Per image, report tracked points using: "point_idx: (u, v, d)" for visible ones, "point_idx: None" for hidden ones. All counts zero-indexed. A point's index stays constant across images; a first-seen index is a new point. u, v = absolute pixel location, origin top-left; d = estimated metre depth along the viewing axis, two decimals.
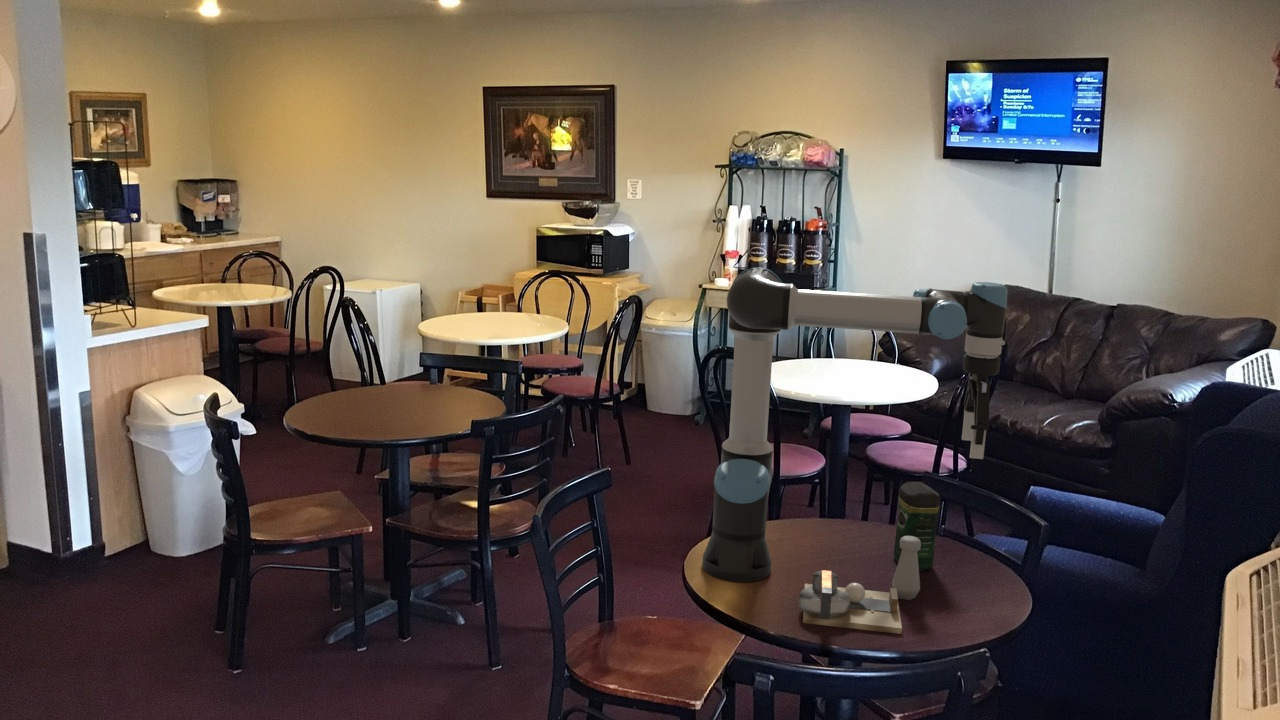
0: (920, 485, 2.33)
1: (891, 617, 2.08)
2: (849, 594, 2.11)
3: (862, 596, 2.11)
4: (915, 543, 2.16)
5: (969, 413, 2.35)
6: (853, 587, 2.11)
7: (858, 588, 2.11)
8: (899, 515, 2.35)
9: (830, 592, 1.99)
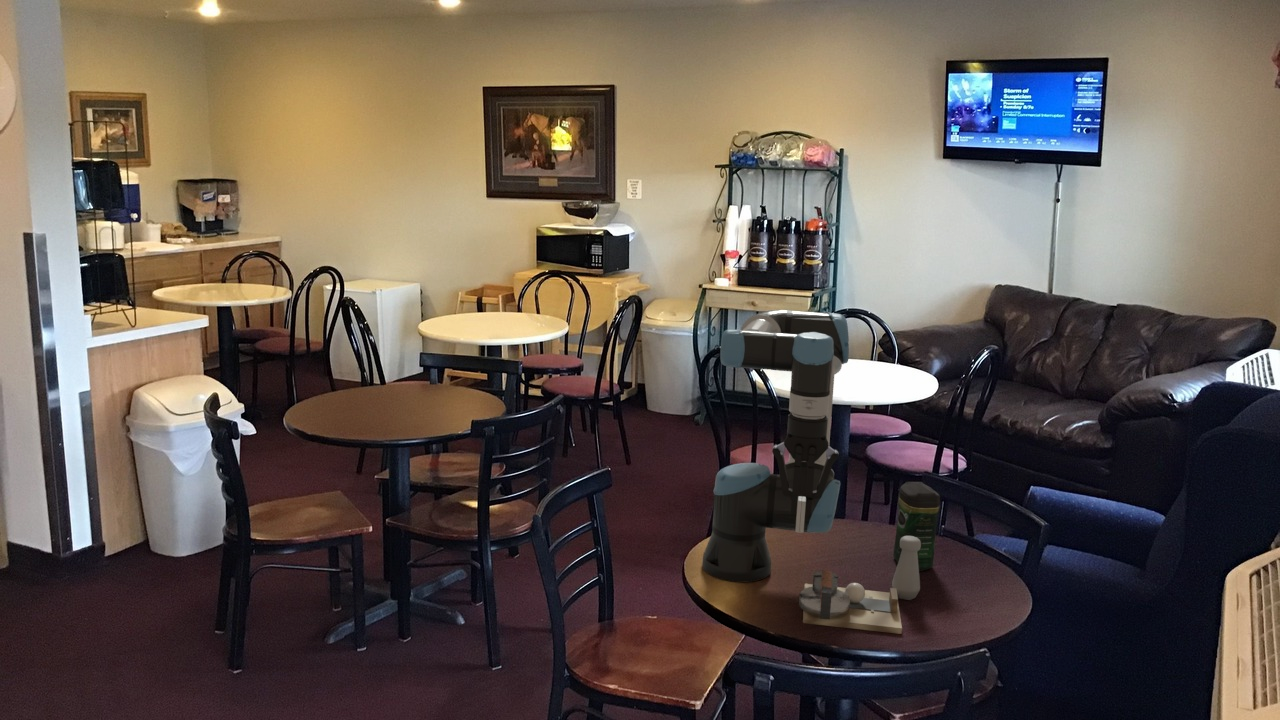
0: (920, 485, 2.33)
1: (891, 617, 2.08)
2: (849, 594, 2.11)
3: (862, 596, 2.11)
4: (915, 543, 2.16)
5: None
6: (853, 587, 2.11)
7: (858, 588, 2.11)
8: (899, 515, 2.35)
9: (830, 592, 1.99)
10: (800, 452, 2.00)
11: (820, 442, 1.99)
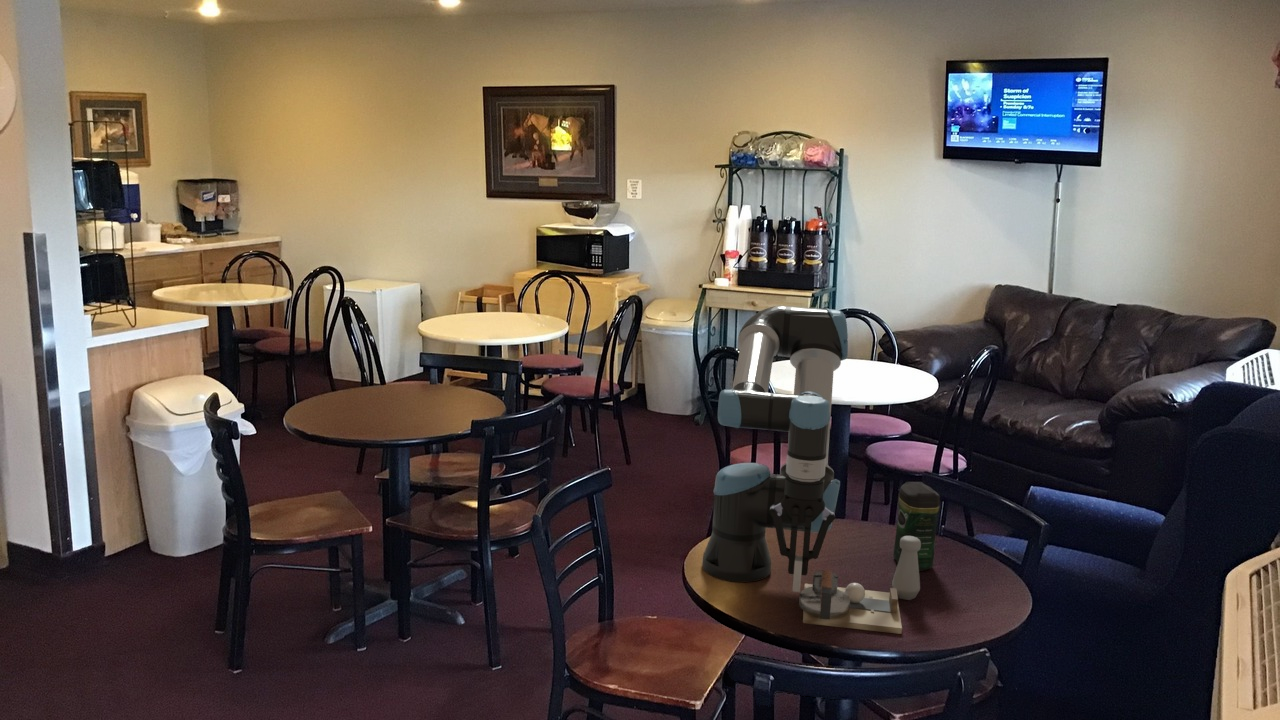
0: (920, 485, 2.33)
1: (891, 617, 2.08)
2: (849, 594, 2.11)
3: (862, 596, 2.11)
4: (915, 543, 2.16)
5: None
6: (853, 587, 2.11)
7: (858, 588, 2.11)
8: (899, 515, 2.35)
9: (830, 592, 1.99)
10: (797, 513, 2.02)
11: (817, 504, 2.02)
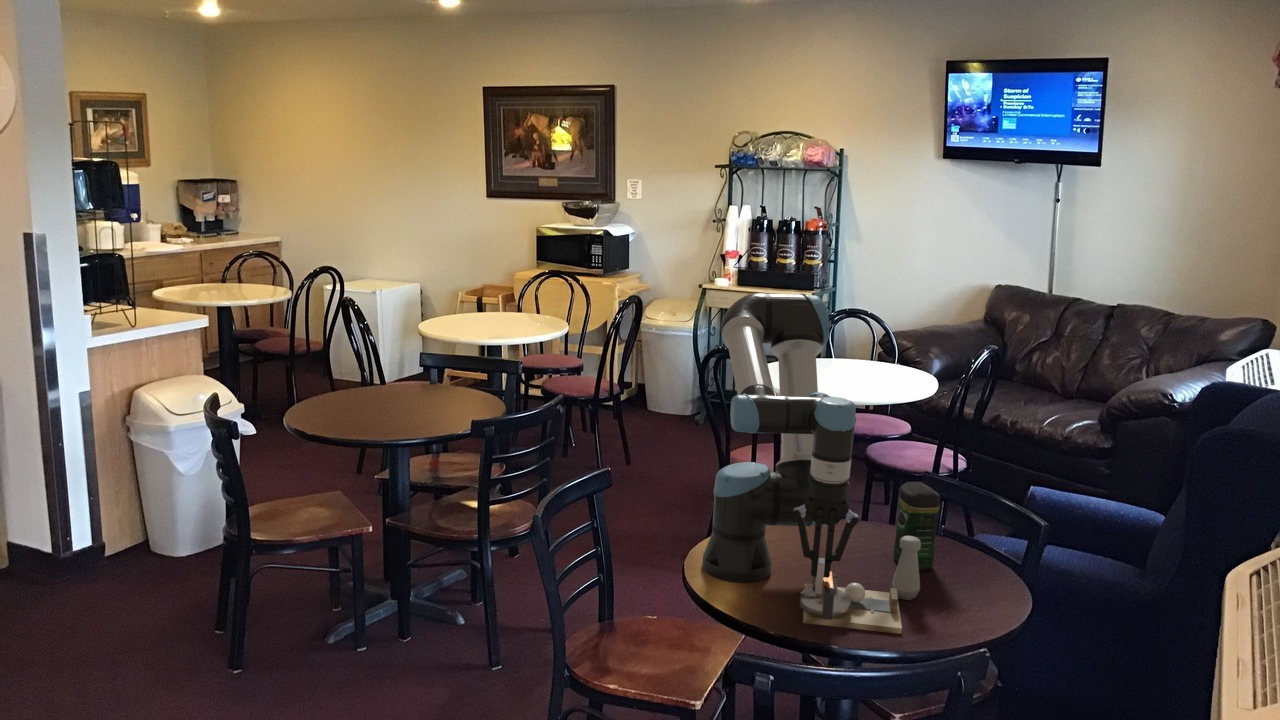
0: (920, 485, 2.33)
1: (891, 617, 2.08)
2: (849, 594, 2.11)
3: (862, 596, 2.11)
4: (915, 543, 2.16)
5: None
6: (853, 587, 2.11)
7: (858, 588, 2.11)
8: (899, 515, 2.35)
9: (832, 592, 1.99)
10: (821, 515, 2.01)
11: (841, 506, 2.01)
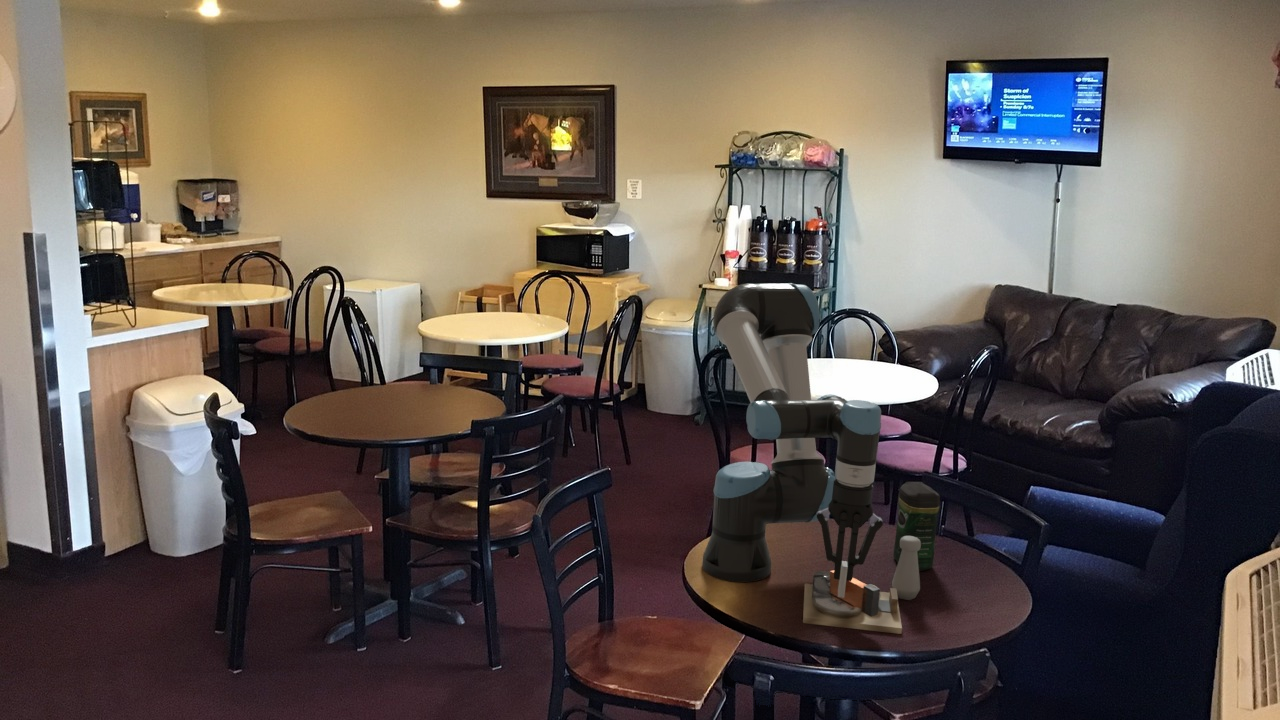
0: (920, 485, 2.33)
1: (891, 617, 2.08)
2: None
3: None
4: (915, 543, 2.16)
5: None
6: None
7: None
8: (899, 515, 2.35)
9: (877, 588, 2.02)
10: (845, 519, 2.01)
11: (865, 509, 2.01)
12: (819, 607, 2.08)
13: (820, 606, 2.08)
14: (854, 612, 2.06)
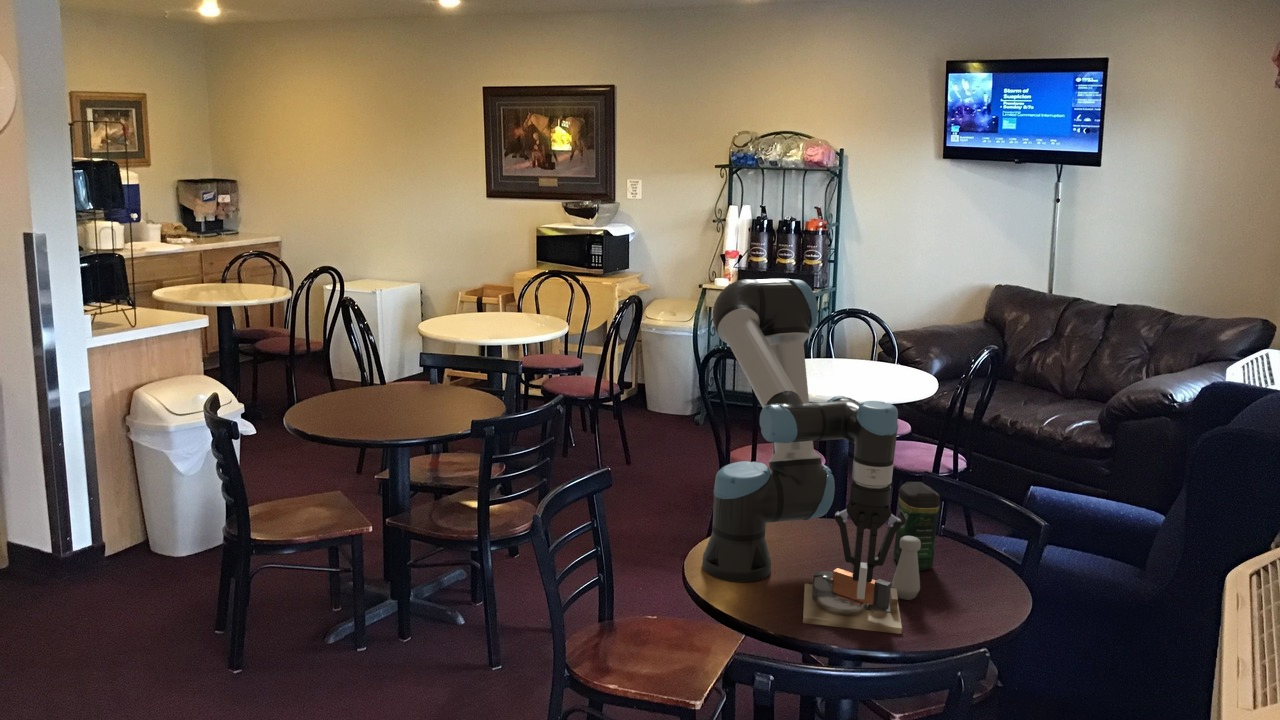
0: (920, 485, 2.33)
1: (891, 617, 2.08)
2: None
3: None
4: (915, 543, 2.16)
5: None
6: None
7: None
8: (899, 515, 2.35)
9: (888, 582, 2.05)
10: (863, 520, 2.00)
11: (883, 510, 2.00)
12: (829, 608, 2.08)
13: (830, 607, 2.07)
14: (863, 608, 2.08)
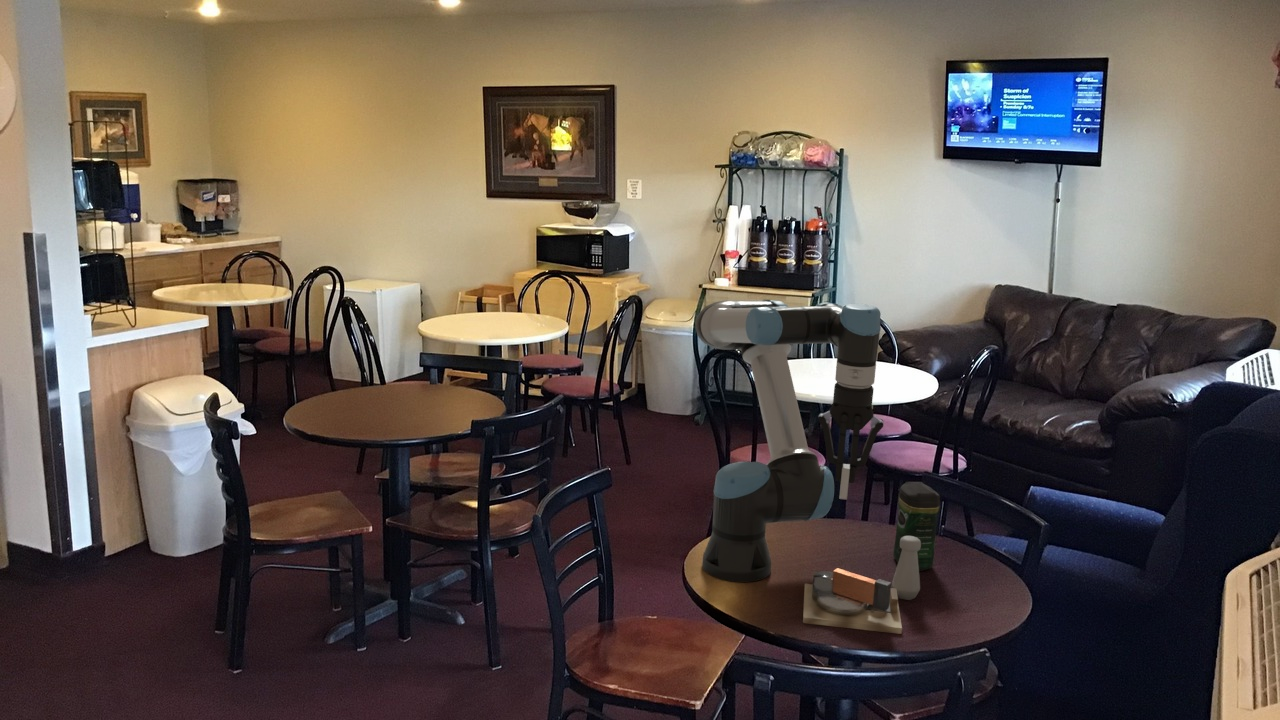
0: (920, 485, 2.33)
1: (891, 617, 2.08)
2: None
3: None
4: (915, 543, 2.16)
5: None
6: None
7: None
8: (899, 515, 2.35)
9: (888, 582, 2.05)
10: (845, 420, 2.04)
11: (865, 411, 2.04)
12: (829, 608, 2.08)
13: (830, 607, 2.07)
14: (863, 608, 2.08)
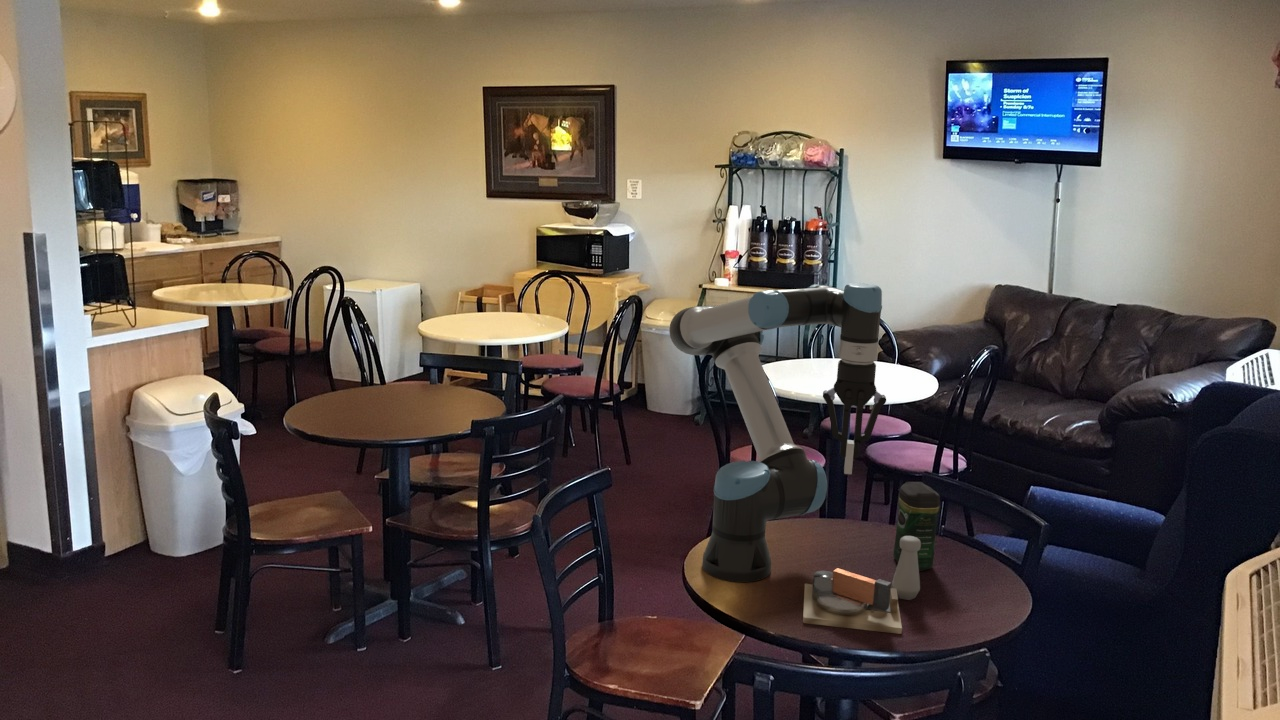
0: (920, 485, 2.33)
1: (891, 617, 2.08)
2: None
3: None
4: (915, 543, 2.16)
5: None
6: None
7: None
8: (899, 515, 2.35)
9: (888, 582, 2.05)
10: (850, 396, 2.10)
11: (869, 387, 2.10)
12: (829, 608, 2.08)
13: (830, 607, 2.07)
14: (863, 608, 2.08)
